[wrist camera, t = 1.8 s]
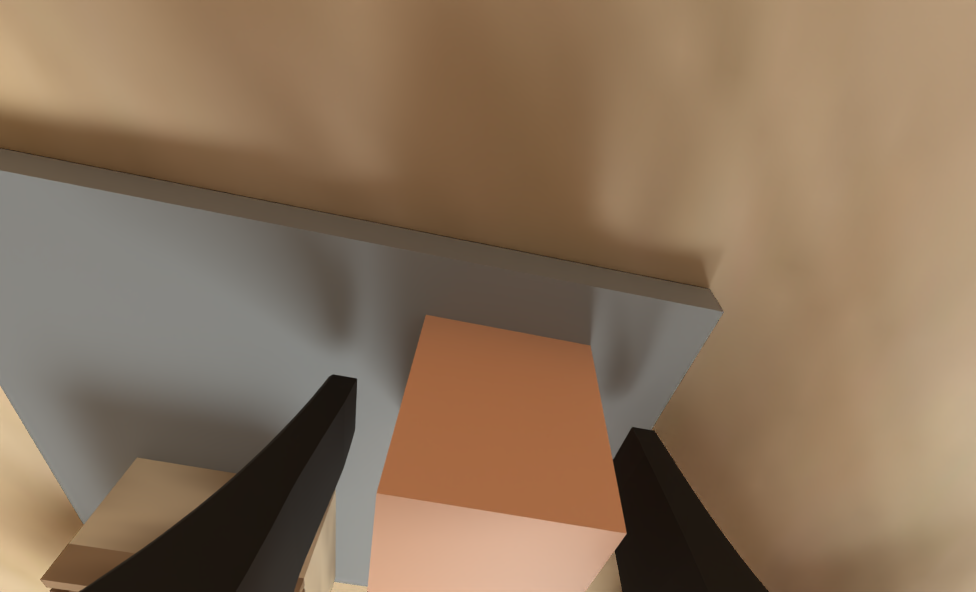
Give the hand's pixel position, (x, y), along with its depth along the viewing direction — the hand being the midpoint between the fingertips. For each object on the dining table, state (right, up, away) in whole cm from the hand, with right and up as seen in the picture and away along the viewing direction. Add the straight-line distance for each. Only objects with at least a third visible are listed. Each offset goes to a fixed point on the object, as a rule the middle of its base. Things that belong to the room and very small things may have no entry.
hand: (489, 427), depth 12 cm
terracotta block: (0, +1, +1) cm, 1 cm away
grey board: (-6, -2, +4) cm, 7 cm away
